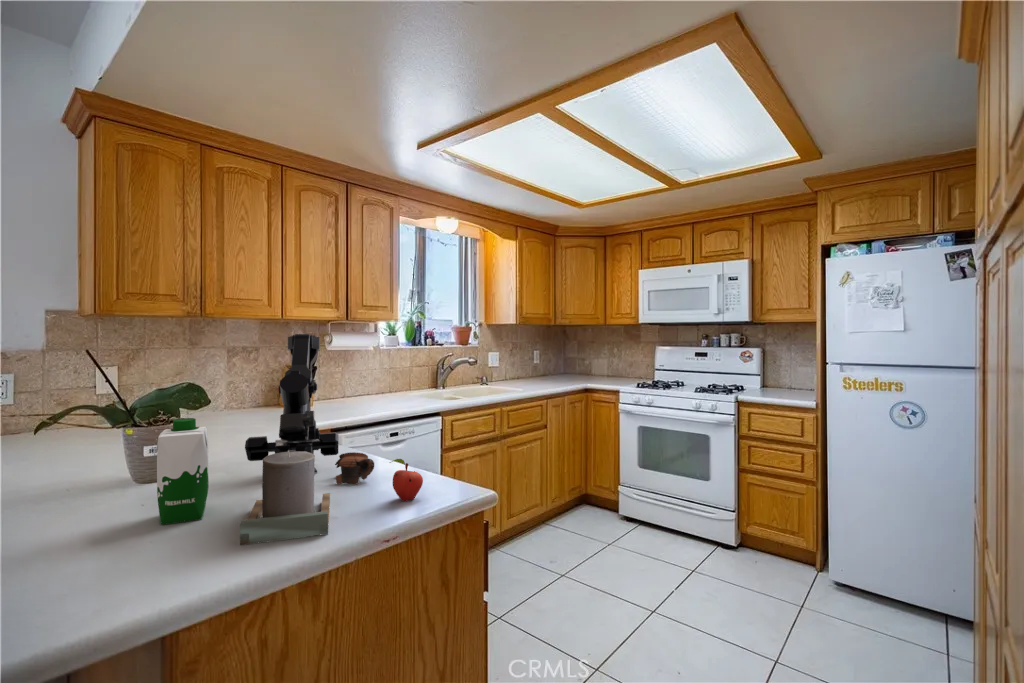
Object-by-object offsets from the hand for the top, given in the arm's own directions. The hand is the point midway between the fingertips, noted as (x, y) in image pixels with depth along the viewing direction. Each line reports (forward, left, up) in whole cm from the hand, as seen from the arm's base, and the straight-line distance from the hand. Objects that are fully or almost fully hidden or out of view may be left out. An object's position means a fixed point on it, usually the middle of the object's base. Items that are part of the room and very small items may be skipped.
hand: (291, 480), depth 103 cm
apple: (+4, +24, -8) cm, 25 cm away
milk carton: (-11, -19, -8) cm, 23 cm away
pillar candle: (+5, -1, -8) cm, 9 cm away
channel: (+3, -1, -7) cm, 8 cm away
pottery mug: (-18, +18, -8) cm, 26 cm away
